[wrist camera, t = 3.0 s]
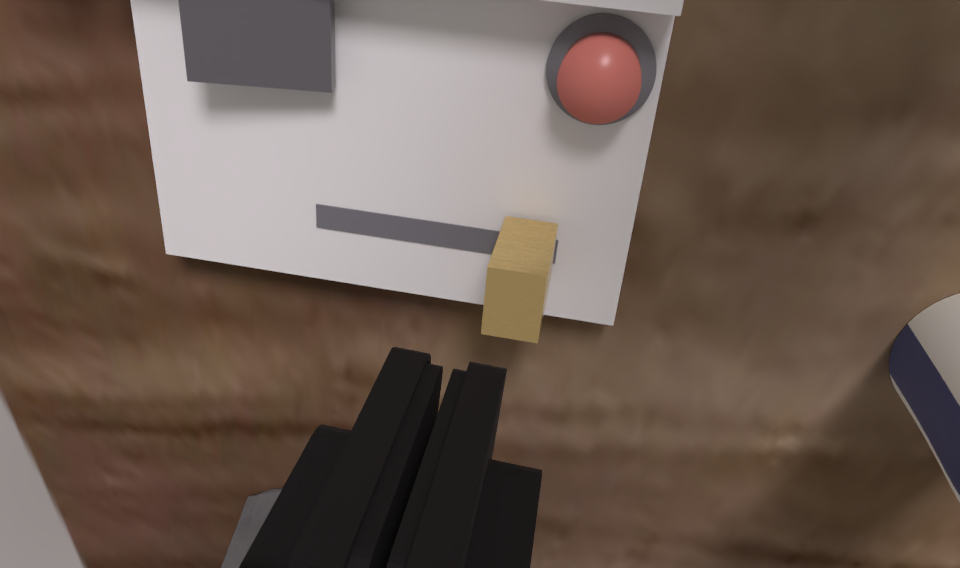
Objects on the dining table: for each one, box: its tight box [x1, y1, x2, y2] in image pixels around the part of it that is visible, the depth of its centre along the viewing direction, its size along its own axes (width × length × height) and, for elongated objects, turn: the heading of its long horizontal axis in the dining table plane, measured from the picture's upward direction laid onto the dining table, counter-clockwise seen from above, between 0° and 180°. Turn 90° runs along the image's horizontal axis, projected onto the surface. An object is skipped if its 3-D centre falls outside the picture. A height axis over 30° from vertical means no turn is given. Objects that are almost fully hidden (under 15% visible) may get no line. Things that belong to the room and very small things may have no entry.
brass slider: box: [481, 216, 558, 343], centre depth 33 cm, size 2×3×5 cm
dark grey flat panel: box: [178, 0, 336, 93], centre depth 32 cm, size 6×4×1 cm, turn 85°
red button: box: [557, 32, 641, 124], centre depth 30 cm, size 3×3×2 cm
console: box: [130, 0, 684, 326], centre depth 34 cm, size 23×16×5 cm
